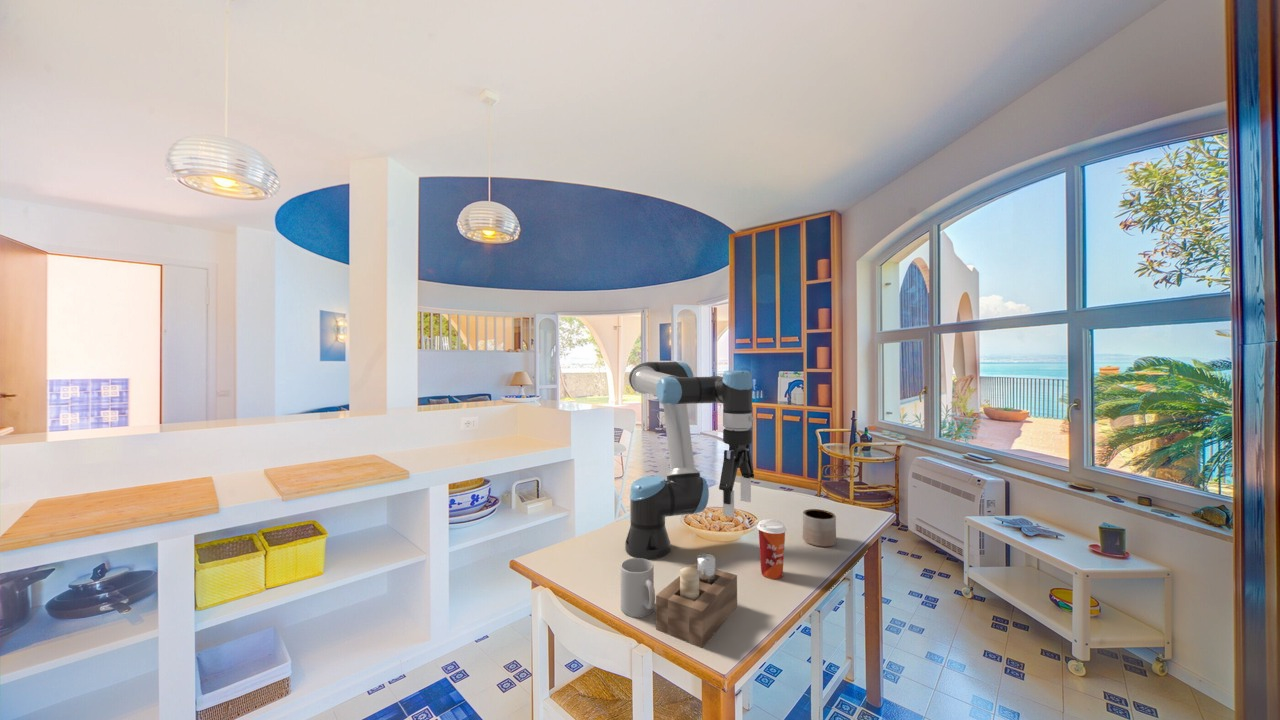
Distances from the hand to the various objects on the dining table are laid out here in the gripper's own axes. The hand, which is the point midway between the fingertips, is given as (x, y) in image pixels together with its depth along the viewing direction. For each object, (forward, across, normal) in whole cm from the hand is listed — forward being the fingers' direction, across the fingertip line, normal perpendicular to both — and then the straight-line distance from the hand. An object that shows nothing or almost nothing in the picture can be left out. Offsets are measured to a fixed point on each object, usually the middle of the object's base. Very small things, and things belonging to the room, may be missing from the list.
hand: (737, 508), depth 118 cm
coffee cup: (+24, +18, -4) cm, 30 cm away
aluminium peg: (+19, -9, +5) cm, 22 cm away
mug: (+24, -19, +19) cm, 36 cm away
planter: (+24, +50, -12) cm, 57 cm away
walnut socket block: (+24, -14, +5) cm, 28 cm away
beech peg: (+19, -18, +6) cm, 27 cm away
